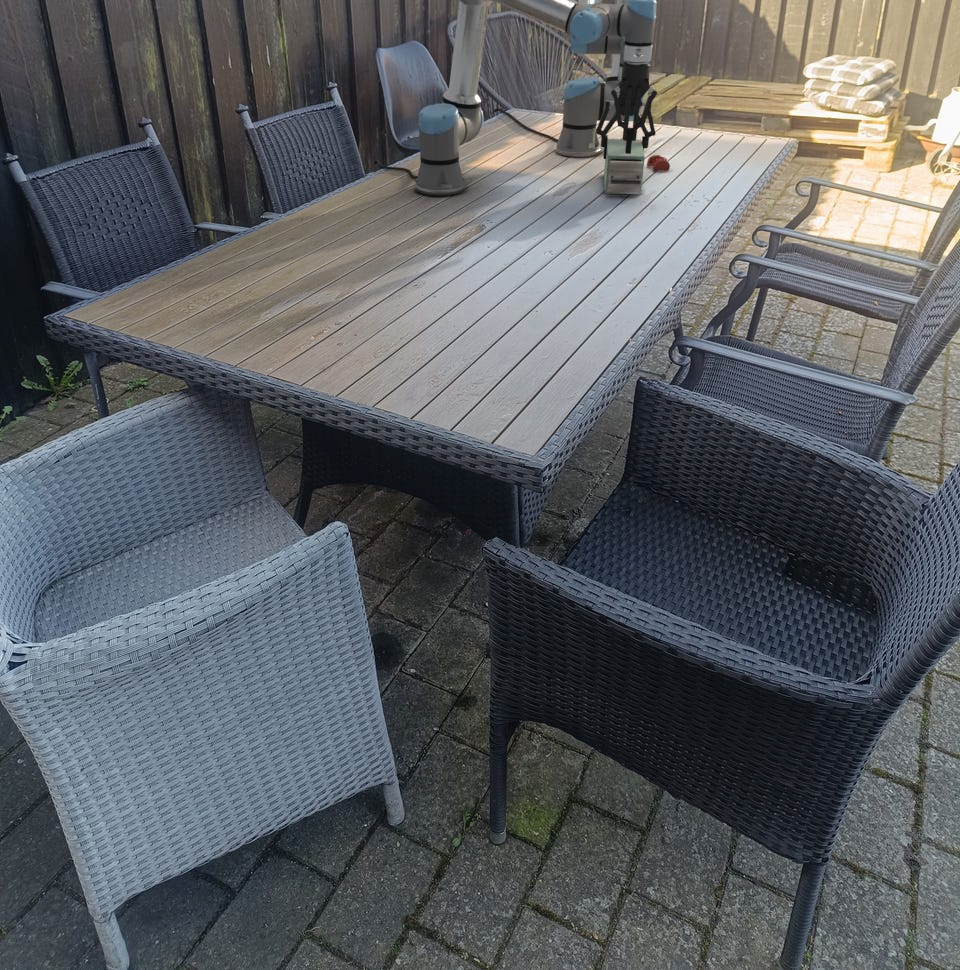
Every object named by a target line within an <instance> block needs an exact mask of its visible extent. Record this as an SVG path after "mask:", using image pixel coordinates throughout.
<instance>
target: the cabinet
mask: <svg viewBox="0 0 960 970" xmlns="http://www.w3.org/2000/svg"><path fill="white" fill-rule="evenodd" d="M625 148H626V141H623V138H608V141H607V152H606V159H604V168H603V184H604V195H605V194H607V195H615V194H614V193H607V190H608V179H609V167H610V161H611V159H634V160H639V161H641V162H643V167H642V176H641V185H640V194H635V195H637V196H638V195H641V194H642V187H643V186H642V185H643V177H644V169H645V168H644V167H645V158H646V156H645V149H644V150H643V146H642V139H636V141H632V147H631V154H626V153H625Z"/></svg>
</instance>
